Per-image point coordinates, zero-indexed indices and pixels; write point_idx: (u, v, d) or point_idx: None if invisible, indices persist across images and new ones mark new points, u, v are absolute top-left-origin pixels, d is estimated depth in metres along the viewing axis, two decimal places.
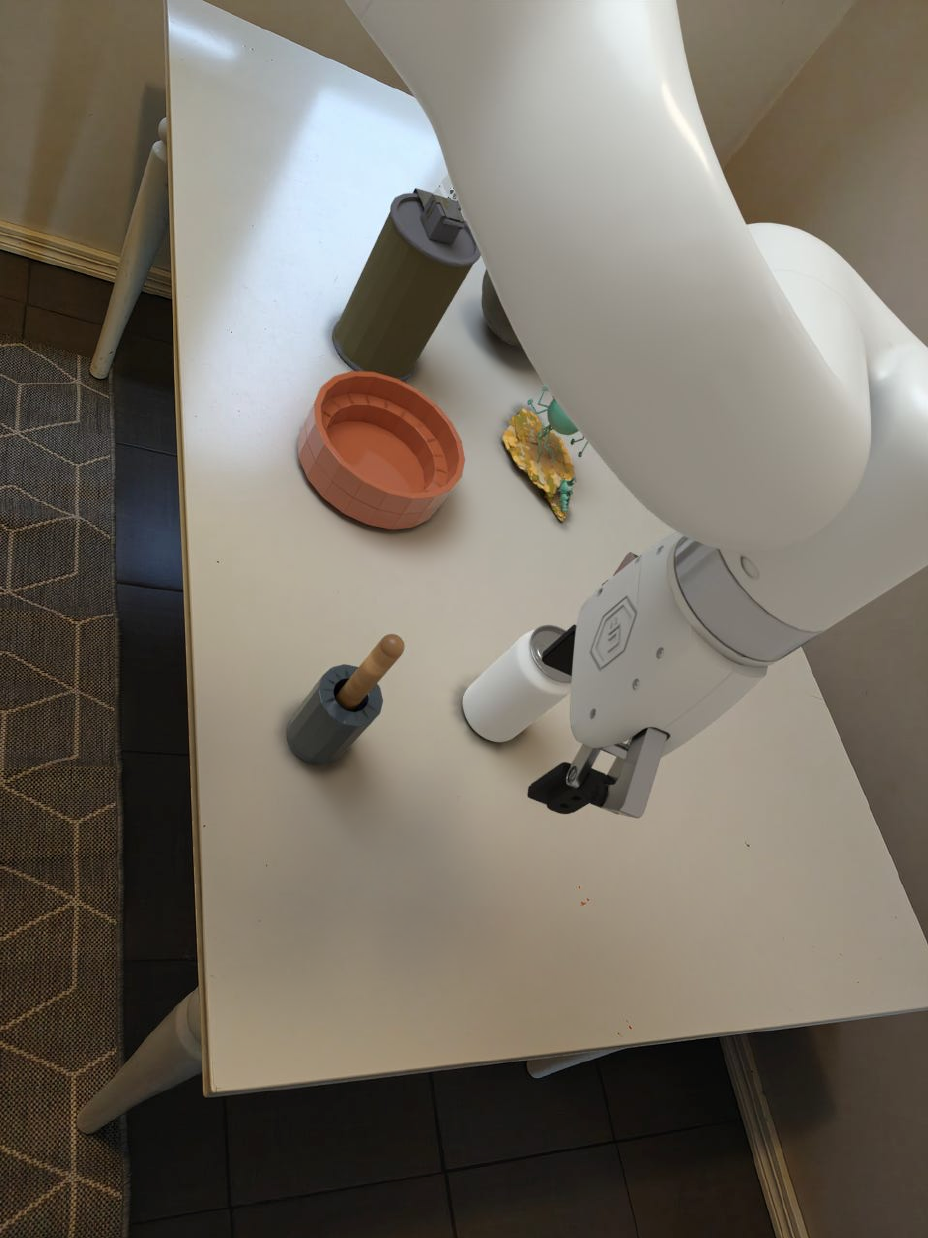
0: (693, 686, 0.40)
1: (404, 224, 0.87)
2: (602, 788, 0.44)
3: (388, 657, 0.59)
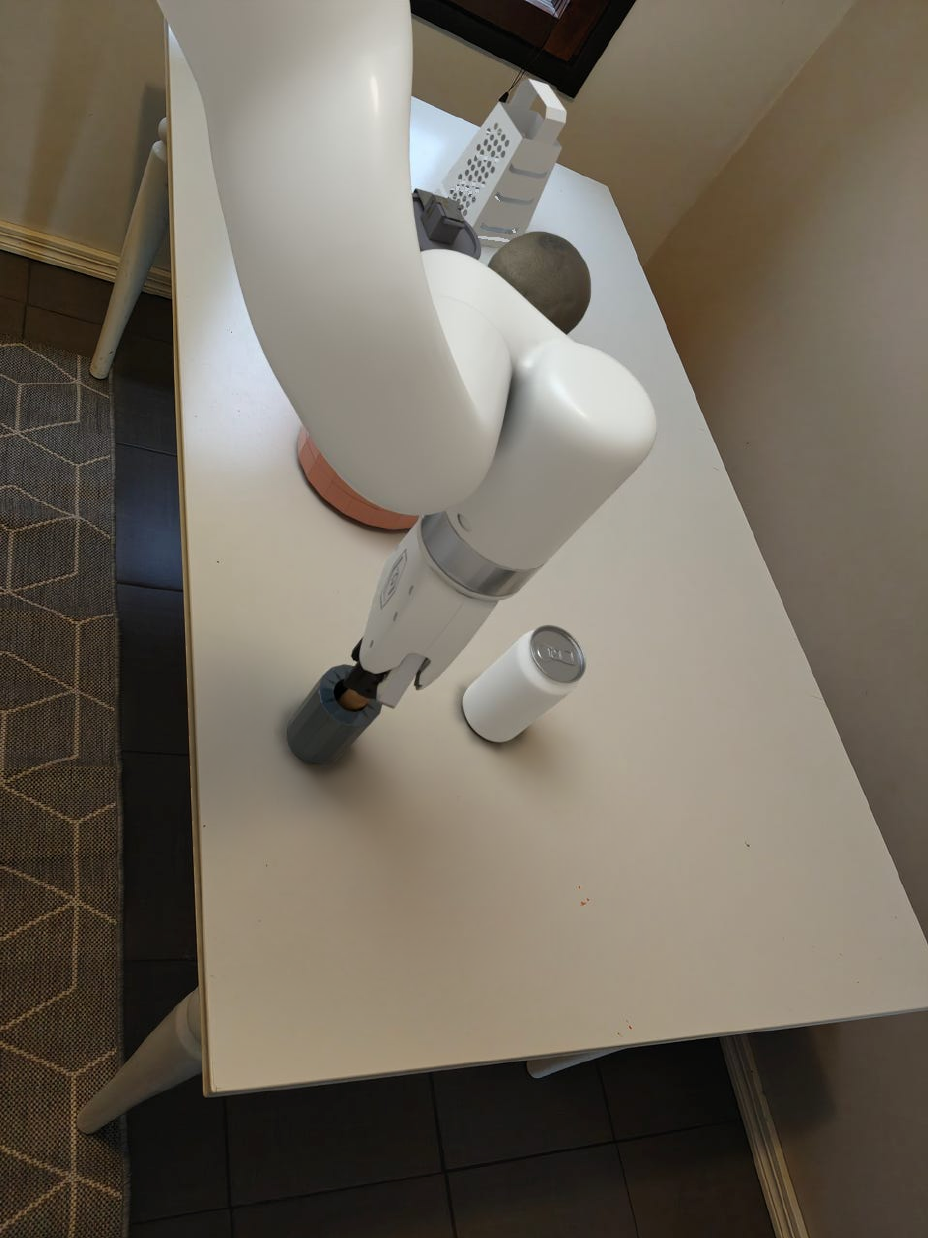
0: (434, 616, 0.49)
1: None
2: None
3: None
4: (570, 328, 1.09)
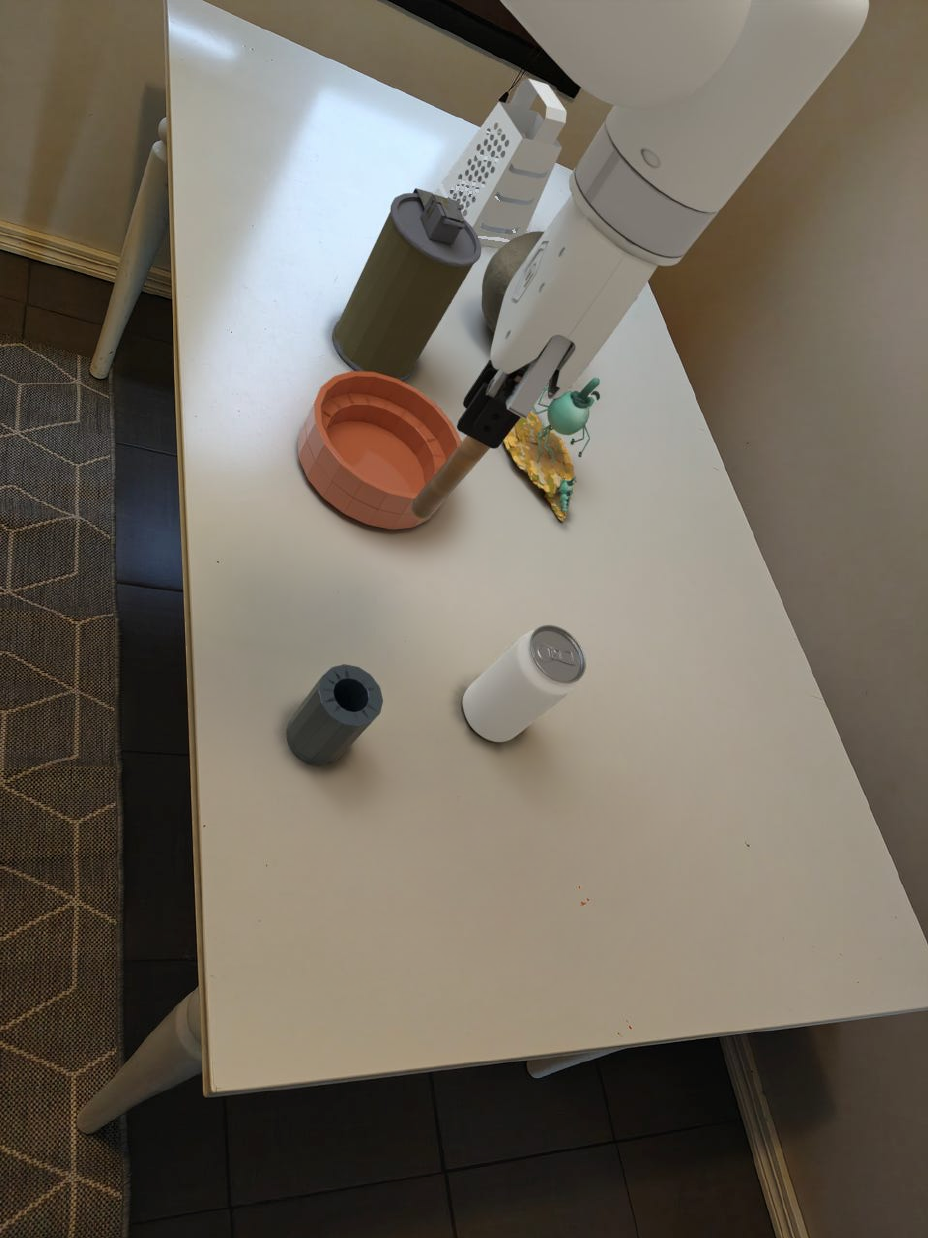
0: (589, 275, 0.44)
1: (404, 224, 0.87)
2: (512, 380, 0.52)
3: None
4: None
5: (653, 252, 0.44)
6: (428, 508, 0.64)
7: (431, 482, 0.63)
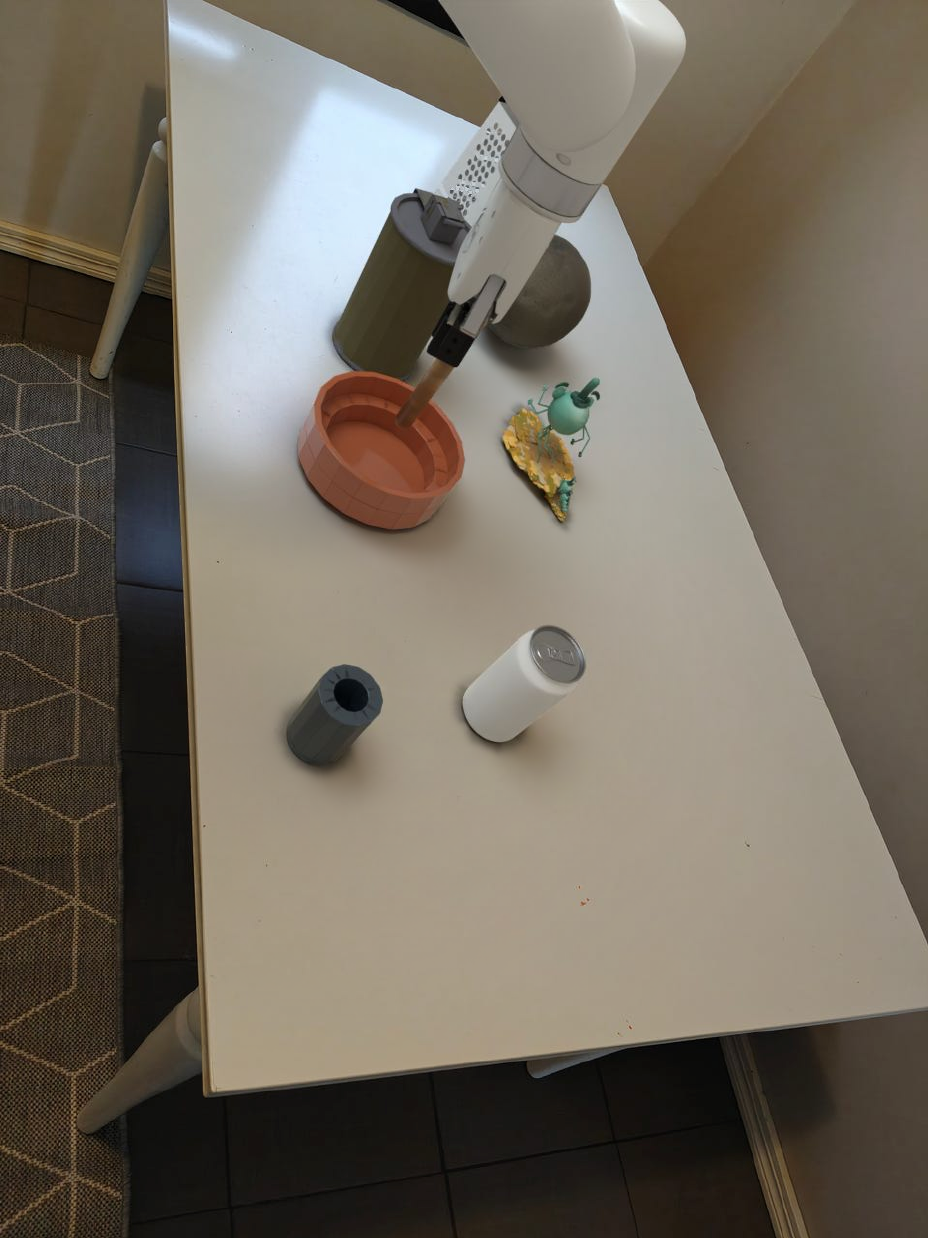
0: (512, 230, 0.64)
1: (404, 224, 0.87)
2: (464, 311, 0.71)
3: None
4: (570, 328, 1.09)
5: (556, 213, 0.63)
6: (408, 419, 0.84)
7: (410, 398, 0.82)
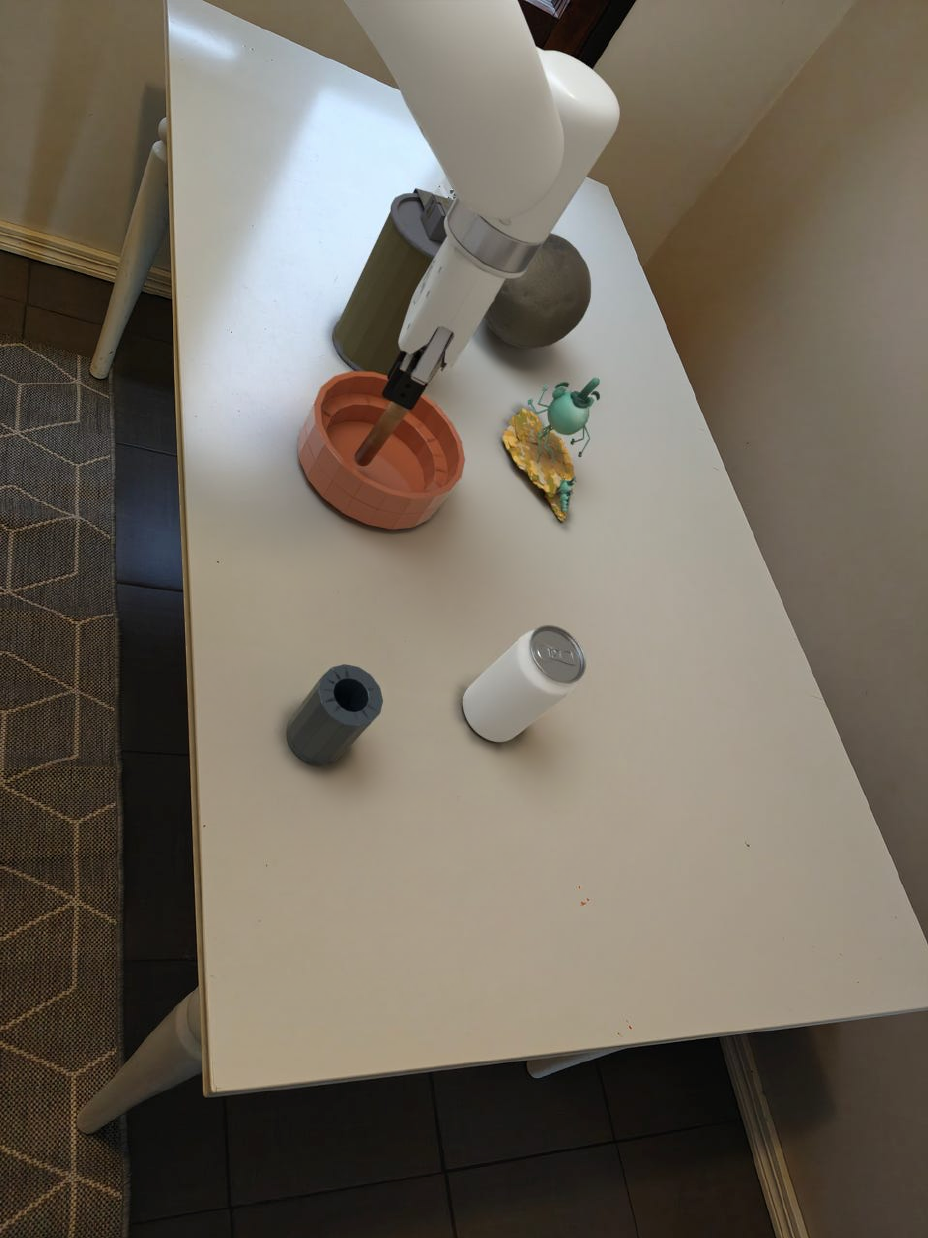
0: (457, 286, 0.66)
1: (404, 224, 0.87)
2: (415, 358, 0.73)
3: None
4: (570, 328, 1.09)
5: (500, 269, 0.66)
6: (366, 457, 0.86)
7: (367, 437, 0.84)
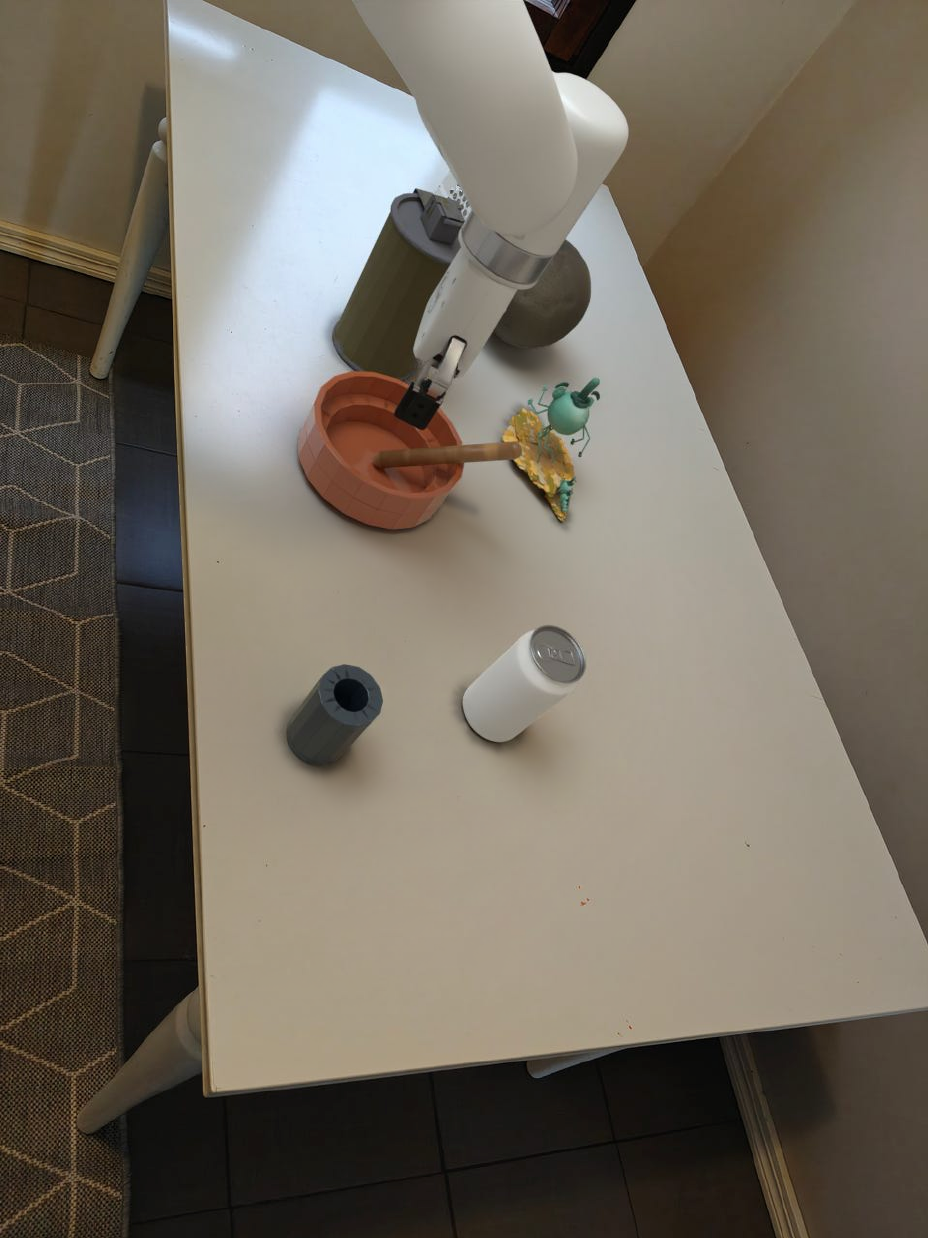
0: (471, 296, 0.68)
1: (404, 224, 0.87)
2: (429, 380, 0.72)
3: (511, 453, 0.86)
4: (570, 328, 1.09)
5: (512, 281, 0.68)
6: (389, 463, 0.89)
7: (406, 451, 0.88)
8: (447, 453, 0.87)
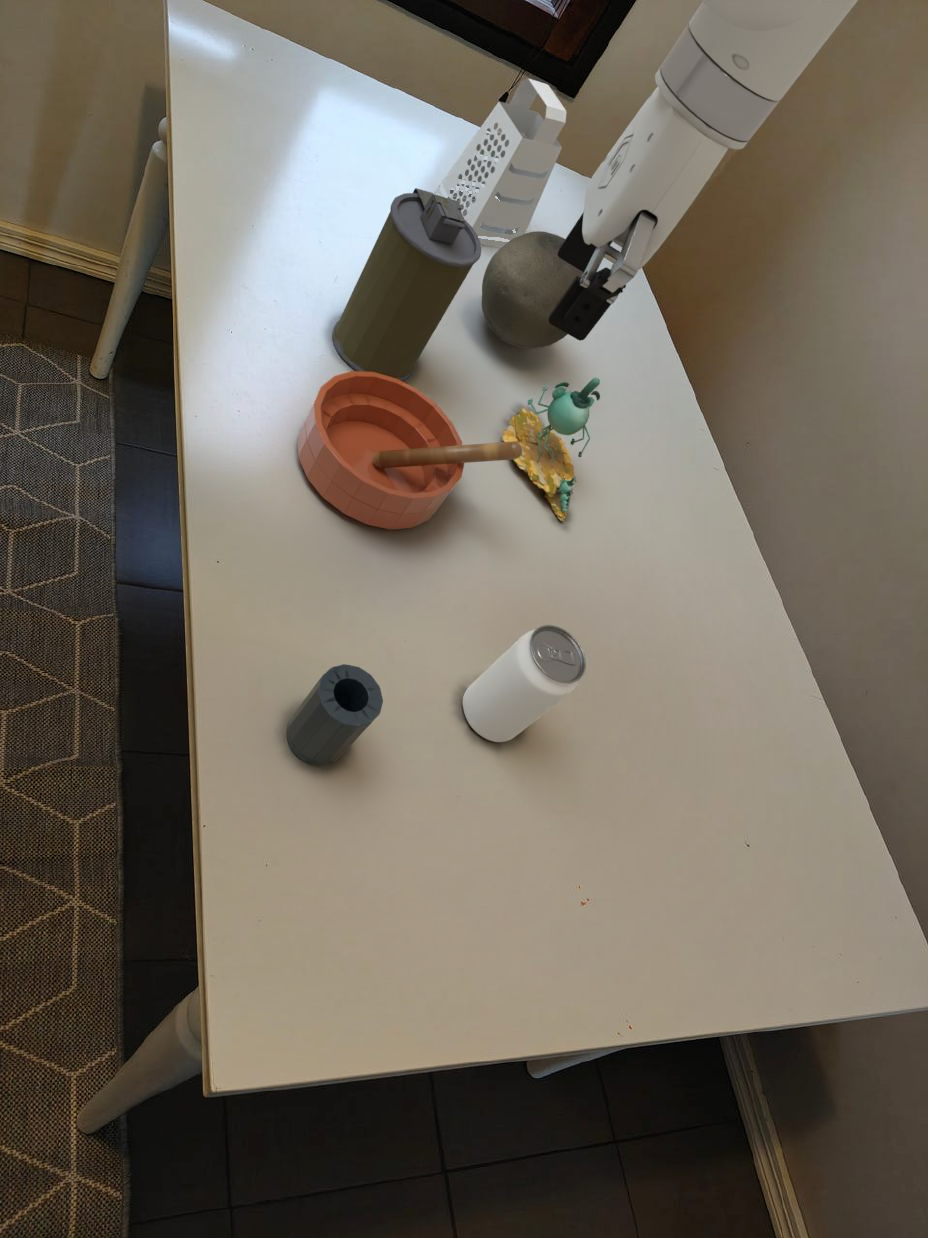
0: (674, 155, 0.54)
1: (404, 224, 0.87)
2: (607, 268, 0.58)
3: (511, 453, 0.86)
4: None
5: (726, 135, 0.54)
6: (389, 463, 0.89)
7: (406, 451, 0.88)
8: (447, 453, 0.87)
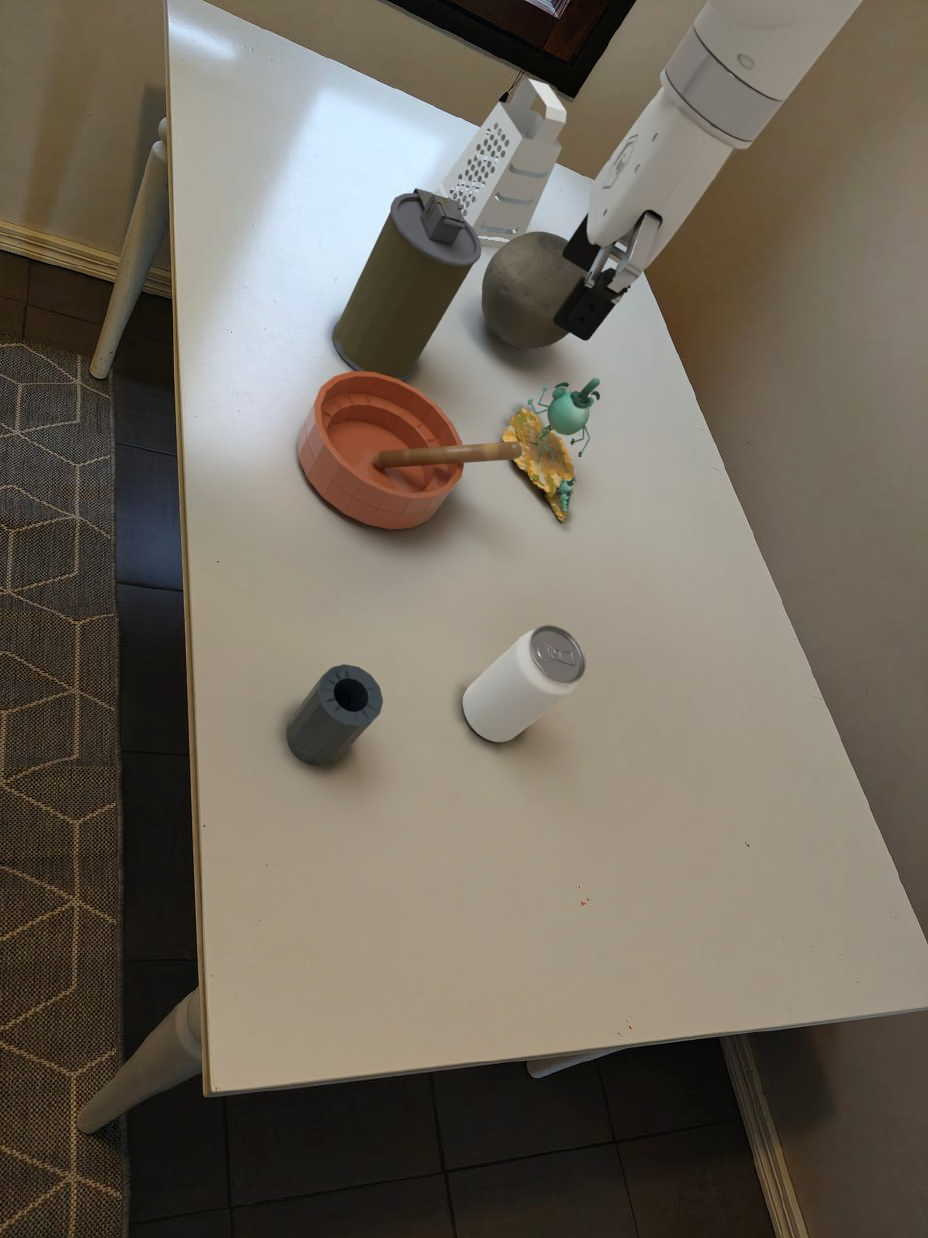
0: (679, 155, 0.54)
1: (404, 224, 0.87)
2: (612, 268, 0.58)
3: (511, 453, 0.86)
4: None
5: (731, 135, 0.54)
6: (389, 463, 0.89)
7: (406, 451, 0.88)
8: (447, 453, 0.87)
